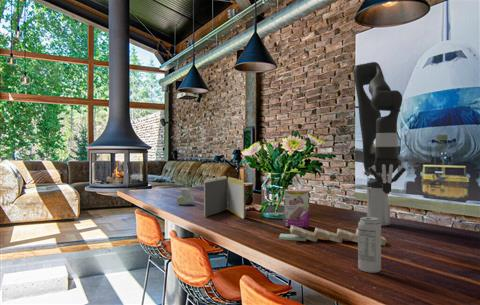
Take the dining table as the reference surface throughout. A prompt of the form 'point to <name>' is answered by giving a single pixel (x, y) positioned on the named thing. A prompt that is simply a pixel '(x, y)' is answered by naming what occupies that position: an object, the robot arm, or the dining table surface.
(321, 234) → the domino
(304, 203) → the candy bar box
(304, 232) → the domino
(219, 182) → the grey folded panel
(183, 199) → the air freshener
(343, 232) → the domino
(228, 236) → the dining table surface
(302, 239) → the domino
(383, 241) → the domino
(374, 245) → the energy drink can
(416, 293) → the dining table surface
